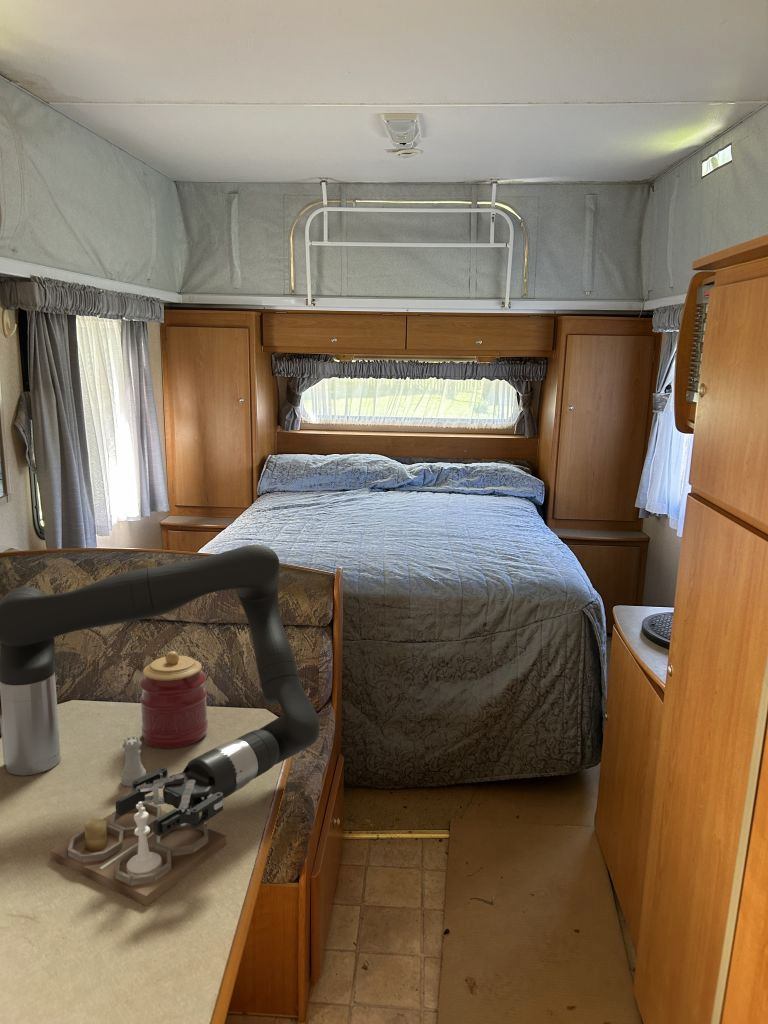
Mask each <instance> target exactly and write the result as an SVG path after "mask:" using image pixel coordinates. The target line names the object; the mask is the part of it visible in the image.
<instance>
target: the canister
mask: <svg viewBox="0 0 768 1024" xmlns="http://www.w3.org/2000/svg"><path fill="white" fill-rule="evenodd" d="M166 653H167V654H166V655H165V656H162V657H160V658H157V659H155V660H153V661H152V662H151V663H150V664H148V665H146V666H145V667H144V668H143V670H142V673H143V677H141V678H140V680H139V683H138V684H139V687H140V689H141V690H142V691H141V692H142V693H141V695H140V698H139V700H140V704H141V706H140V707H141V710H140V711H141V727H140V728H141V736H142V739H143V741H144V743H146V744H147V745H149V746H150V747H154V748H159V749H176V748H184V747H187V746H189V745H192V744H195V743H197V742H199V741H200V739H201V740H202V739H203V738H204V737H205V736H206V735H207V734H208V727H209V719H208V713H207V712H208V711H207V695H208V691H207V689H206V688H205V682H206V680H207V674H206V673H205V672H204V671H202V668H203V667H202V664H201V662H200V661H198V660H196V659H194V658H193V657H190V656H186V655H179V653H178V652H177V651H174V650H172V651H168V652H166Z"/></svg>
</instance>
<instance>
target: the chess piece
mask: <svg viewBox="0 0 768 1024" xmlns="http://www.w3.org/2000/svg"><path fill="white" fill-rule="evenodd" d="M136 808H137V809H139V812H138V813H136V814H135V815H134V820H135V822H136V824H137V826H138V827H137V828H136V829H135V832H134V834H135V835H137V836H139V843H138V854H137V855H135V856H133V857H132V858H131V859H130V860H129V861H128V862H127V868H126V872H127V873H128V875H130V876H132V877H133V876H139V875H146V874H152V873H154V872H155V871H157V870H158V869H160V868H161V866H162V860H161V856H160V855H159V854H157V853H155V852H149V848H148V843H147V837H146V834H148V833H149V832H150V828H149V827H148V826H146V824H147V820H148V816H149V814H148V812H145V807H143V802H141V801H140V802H138V804H137V805H136Z"/></svg>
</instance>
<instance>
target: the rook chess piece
mask: <svg viewBox="0 0 768 1024" xmlns="http://www.w3.org/2000/svg"><path fill="white" fill-rule="evenodd" d="M123 742H124V743H122V746H121V747H122V748H123V749H124V751H125V752H124V753H123V755H124V756H125V762H124V767H123V770H122V771H121V774H120V778H121V779H120V783H121V784H122V785H123V786H124V787H127V788H133V785H132V782H133V781H134V780H136V779H139V778H141V777H143V776H145V775H147V771H146V770H147V769H146V768H144V765H143V764H142V761H141V755H140V754H141V752H142V750H141V749H140V747H141V746H142V744H143V743H142V741H141V740H140V737H139V736H135V735H132V738H131V736H128V737H126V738H125V739H124V740H123Z"/></svg>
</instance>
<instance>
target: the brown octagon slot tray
mask: <svg viewBox="0 0 768 1024" xmlns="http://www.w3.org/2000/svg"><path fill="white" fill-rule="evenodd" d="M143 807H145V812H148V814H149V816H148V820H147V824H146V826H148V827H149V828H150V832H149V833H148V834H146V837H147V843H148V848H149V852H155V853H157V854H159V855H160V856H161V860H162V866H161V868H160V869H158V870H157V871H155V872H154V873H152V874H146V875H139V876H133V877H132V876H130V875H128V873H127V872H126V868H127V862H128V861H129V860H130V859H131V858H132V857H133V856H135V855H137V854H138V843H139V836H137V835H135V834H134V832H135V829H136V828H137V827H138V826H137V824H136V822H135V820H134V815H135V814H136V813H138V812H139V809H137V808H135V809H133V810H131V811H129V812H127V813H125V814H123V815H121V816H120V815H118V814H116V810H115V811H113V812H112V813H110V814H108V815H107V816H105V817H104V818H94V819H91V820H88V821H87V822H86V823H85V824H84V829H83V830H81V831H80V832H78V833H76V834H74V835H73V836H71V837H70V838H69V839H68V840H65V841H63V842H62V843H60V844H59V845H57V846H55V847H54V848H52V849H50V850H49V851H50V861H53V862H55V863H57V864H59V865H61V866H63V867H65V868H67V869H69V870H71V871H73V872H76V873H78V874H80V875H82V876H84V877H86V878H88V879H90V880H92V881H94V882H96V883H99V884H100V885H103V886H105V887H106V888H109V889H110V890H113V891H114V892H118V893H119V894H120V895H123V896H125V897H127V898H129V899H131V900H133V901H135V902H137V903H140V904H142V905H144V906H146V907H147V906H149V905H150V904H151V903H153V902H154V901H156V899H158V898H160V897H161V896H162V895H163V894H165V893H166V892H167V891H168V890H170V889H172V887H173V886H175V885H176V884H177V883H179V882H180V881H181V880H182V879H184V878H185V877H186V876H187V875H189V874H190V873H192V872H193V871H194V870H195V869H197V868H198V867H199V866H200V865H202V864H204V863H205V862H206V861H208V859H210V858H211V857H212V856H214V855H215V854H216V853H218V852H219V851H220V850H222V849H223V848H225V846H226V845H227V844H228V843H227V842H228V841H227V837H228V835H227V834H224V833H221V832H218V831H216V830H213V829H212V828H211V829H210V828H208V824H207V823H206V822H205V823H203V824H202V825H200V826H199V827H197V828H192V827H191V824H187V825H184V826H181V825H179V826H177V827H175V828H174V829H172V830H170V831H169V832H167V833H164V834H162V835H160V836H158V835H156V834H154V821H155V820H156V819H158V818H159V817H161V816H163V815H165V814H167V813H168V812H167V811H164V810H162V807H161V805H155V804H154V803H146V804H143Z"/></svg>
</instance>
